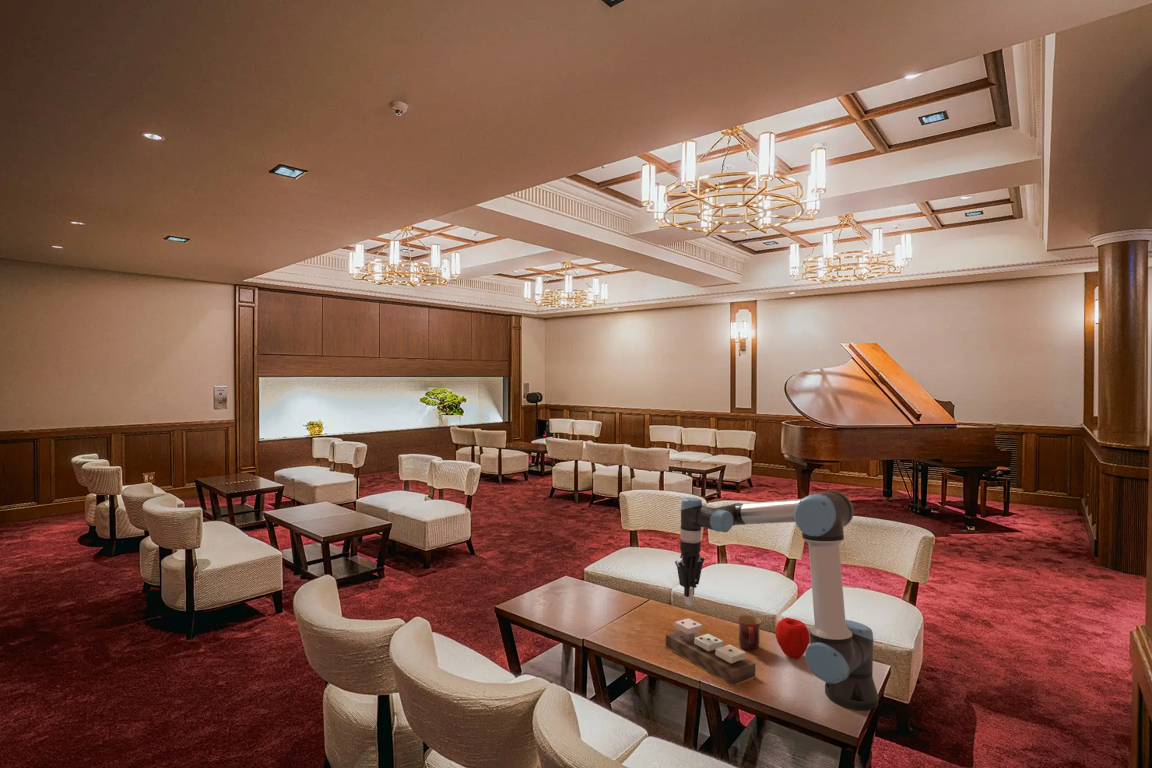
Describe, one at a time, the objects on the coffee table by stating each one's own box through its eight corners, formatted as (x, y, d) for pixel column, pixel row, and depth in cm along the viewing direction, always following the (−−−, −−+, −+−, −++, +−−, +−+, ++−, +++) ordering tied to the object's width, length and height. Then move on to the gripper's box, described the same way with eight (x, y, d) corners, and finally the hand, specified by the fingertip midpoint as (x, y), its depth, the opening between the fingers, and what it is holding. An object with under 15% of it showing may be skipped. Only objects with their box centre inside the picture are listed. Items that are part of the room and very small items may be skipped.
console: (756, 677, 188) (756, 663, 188) (732, 686, 182) (733, 672, 182) (687, 639, 216) (687, 628, 216) (664, 646, 209) (664, 634, 209)
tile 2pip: (701, 642, 206) (702, 624, 206) (687, 646, 202) (688, 628, 203) (688, 635, 212) (688, 617, 212) (674, 639, 208) (674, 621, 208)
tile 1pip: (745, 671, 189) (745, 651, 190) (731, 676, 186) (731, 656, 186) (729, 662, 195) (729, 643, 195) (715, 667, 192) (715, 648, 192)
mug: (735, 640, 216) (736, 613, 216) (759, 643, 214) (760, 616, 214) (738, 655, 204) (739, 626, 204) (763, 657, 202) (764, 629, 203)
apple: (767, 650, 208) (768, 614, 208) (795, 647, 211) (796, 612, 211) (787, 666, 197) (788, 627, 197) (816, 662, 200) (817, 624, 200)
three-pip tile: (722, 659, 198) (723, 640, 198) (708, 664, 194) (708, 644, 194) (707, 651, 204) (708, 633, 204) (693, 655, 200) (694, 637, 200)
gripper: (695, 535, 214) (694, 598, 214) (670, 540, 207) (668, 604, 207) (710, 540, 208) (709, 604, 208) (684, 545, 201) (683, 611, 201)
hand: (688, 604), depth 207 cm, fingers closed
